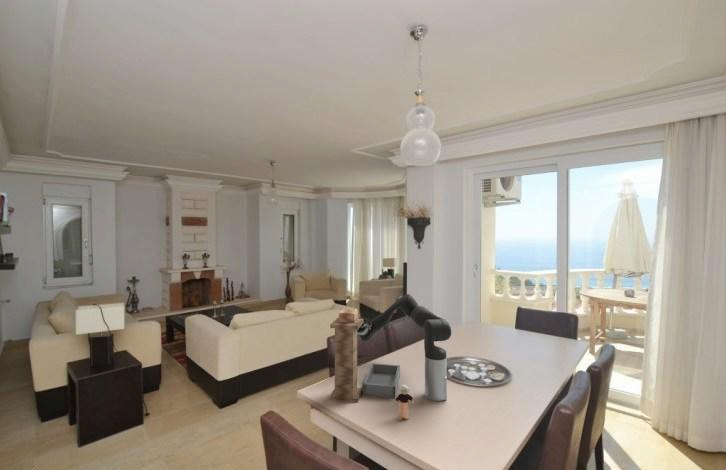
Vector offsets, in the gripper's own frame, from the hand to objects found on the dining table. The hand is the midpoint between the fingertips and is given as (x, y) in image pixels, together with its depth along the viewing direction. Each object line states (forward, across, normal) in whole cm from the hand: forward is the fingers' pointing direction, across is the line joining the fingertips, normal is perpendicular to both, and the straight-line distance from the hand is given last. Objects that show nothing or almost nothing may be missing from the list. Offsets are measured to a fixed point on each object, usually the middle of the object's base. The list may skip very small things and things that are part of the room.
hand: (355, 320), depth 167 cm
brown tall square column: (+6, +1, -34) cm, 34 cm away
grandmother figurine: (+20, -25, -41) cm, 52 cm away
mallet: (+14, 0, -2) cm, 14 cm away
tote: (-4, -14, -29) cm, 32 cm away
